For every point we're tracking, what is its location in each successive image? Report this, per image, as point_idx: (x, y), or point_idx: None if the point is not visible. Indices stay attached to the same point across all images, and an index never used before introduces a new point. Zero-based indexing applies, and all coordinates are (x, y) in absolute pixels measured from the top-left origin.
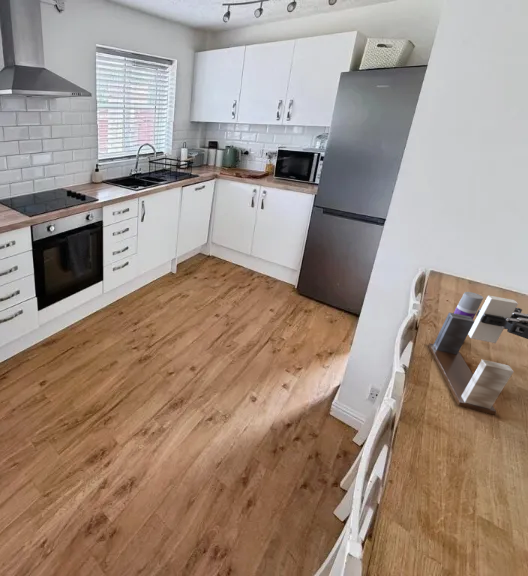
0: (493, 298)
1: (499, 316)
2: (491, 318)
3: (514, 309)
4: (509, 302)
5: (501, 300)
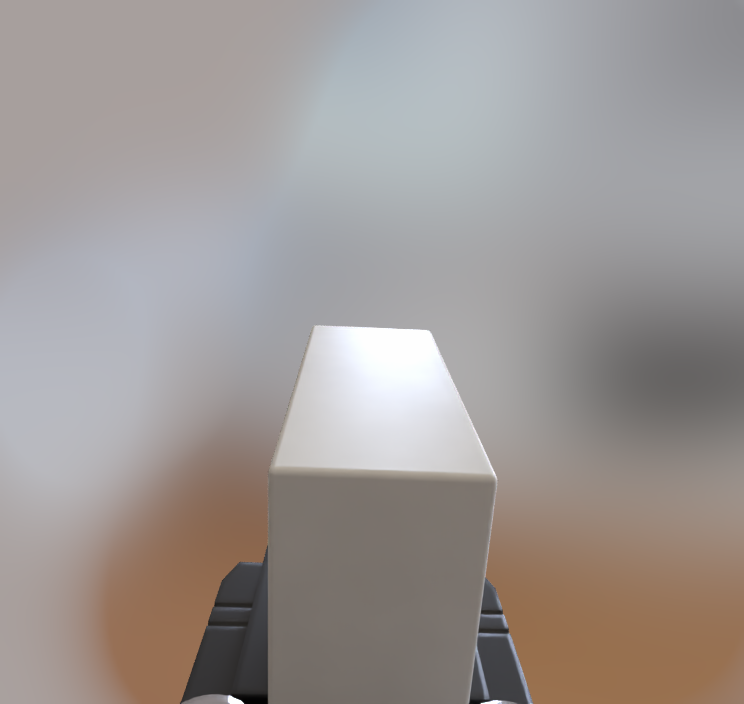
0: (341, 335)
1: None
2: (225, 586)
3: (272, 616)
4: (287, 409)
5: (306, 359)
